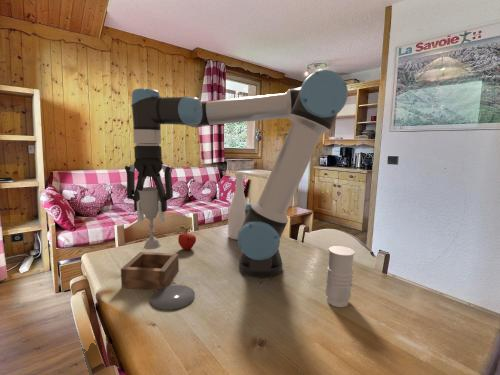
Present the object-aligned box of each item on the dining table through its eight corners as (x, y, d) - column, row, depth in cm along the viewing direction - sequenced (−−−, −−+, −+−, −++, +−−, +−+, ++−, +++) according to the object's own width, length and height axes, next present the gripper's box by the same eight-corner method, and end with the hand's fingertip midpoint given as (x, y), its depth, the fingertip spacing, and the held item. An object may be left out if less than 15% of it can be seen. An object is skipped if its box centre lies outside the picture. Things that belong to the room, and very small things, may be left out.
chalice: (156, 251, 84) (153, 191, 81) (135, 249, 85) (132, 190, 83) (168, 243, 91) (166, 187, 88) (148, 241, 93) (146, 186, 90)
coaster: (199, 287, 85) (199, 286, 85) (188, 311, 74) (188, 309, 73) (159, 285, 86) (159, 283, 86) (142, 308, 74) (142, 306, 74)
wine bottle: (225, 239, 128) (226, 172, 123) (230, 232, 137) (231, 170, 132) (246, 241, 126) (248, 173, 121) (250, 234, 135) (252, 171, 130)
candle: (319, 297, 82) (323, 247, 80) (338, 292, 85) (342, 244, 82) (335, 310, 76) (339, 256, 73) (355, 305, 79) (360, 253, 76)
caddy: (178, 270, 96) (178, 253, 95) (165, 290, 83) (164, 271, 82) (140, 268, 97) (140, 251, 96) (121, 288, 84) (120, 269, 83)
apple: (187, 245, 120) (187, 222, 118) (199, 249, 116) (199, 225, 114) (173, 250, 113) (172, 226, 112) (184, 254, 110) (184, 229, 108)
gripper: (183, 145, 87) (185, 219, 90) (122, 144, 88) (127, 217, 91) (175, 145, 79) (177, 226, 83) (109, 144, 80) (114, 224, 84)
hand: (151, 221), depth 87 cm, fingers closed on chalice, 6 cm apart
